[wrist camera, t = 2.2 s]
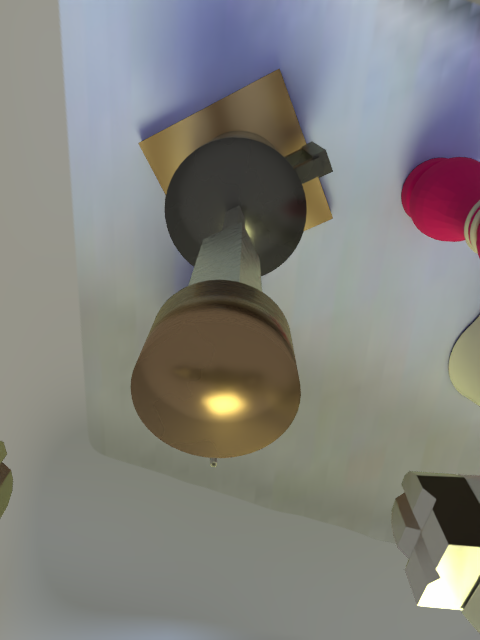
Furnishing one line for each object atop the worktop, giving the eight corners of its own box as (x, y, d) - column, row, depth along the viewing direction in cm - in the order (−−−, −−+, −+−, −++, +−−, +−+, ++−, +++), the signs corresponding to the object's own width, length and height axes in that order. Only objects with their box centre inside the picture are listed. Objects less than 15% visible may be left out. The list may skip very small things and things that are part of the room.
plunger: (253, 191, 20) (259, 293, 9) (286, 269, 22) (324, 429, 11) (174, 228, 21) (97, 360, 10) (212, 300, 23) (182, 475, 12)
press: (292, 93, 36) (346, 83, 16) (328, 196, 40) (408, 289, 20) (170, 155, 38) (88, 213, 19) (216, 246, 42) (188, 373, 23)
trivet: (278, 69, 36) (279, 68, 35) (330, 214, 42) (332, 218, 41) (142, 141, 39) (138, 143, 38) (208, 268, 45) (207, 273, 44)
